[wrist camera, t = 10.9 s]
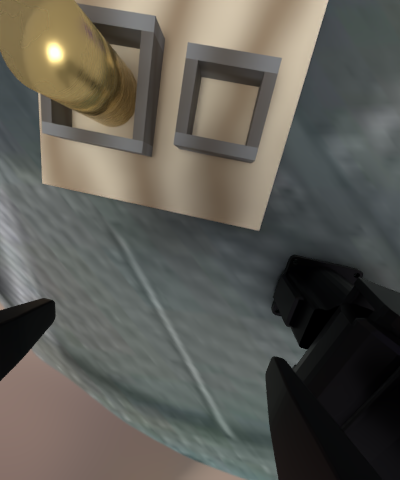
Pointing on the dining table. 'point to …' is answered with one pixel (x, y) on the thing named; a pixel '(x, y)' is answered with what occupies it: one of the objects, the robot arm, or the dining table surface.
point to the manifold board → (190, 106)
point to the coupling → (66, 59)
